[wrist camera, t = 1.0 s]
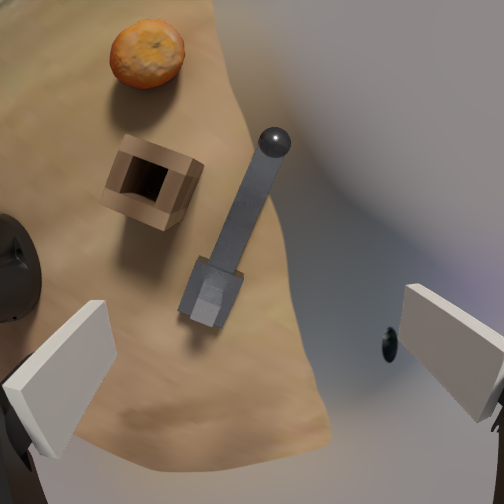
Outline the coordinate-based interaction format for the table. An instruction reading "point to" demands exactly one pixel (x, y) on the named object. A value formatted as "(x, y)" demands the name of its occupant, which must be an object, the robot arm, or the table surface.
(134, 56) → the fruit
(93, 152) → the table surface
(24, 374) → the robot arm
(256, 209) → the grey lever handle
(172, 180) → the socket collar
